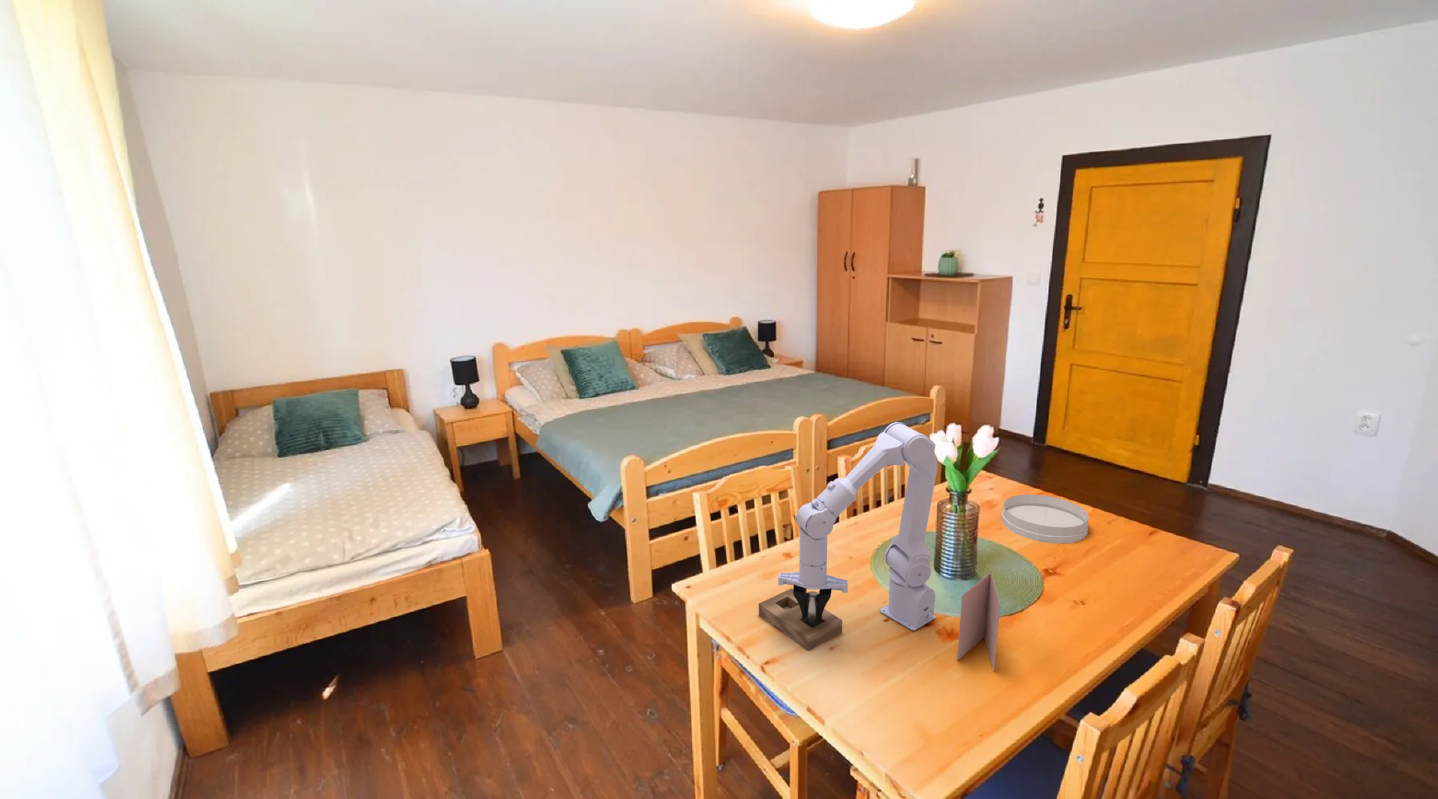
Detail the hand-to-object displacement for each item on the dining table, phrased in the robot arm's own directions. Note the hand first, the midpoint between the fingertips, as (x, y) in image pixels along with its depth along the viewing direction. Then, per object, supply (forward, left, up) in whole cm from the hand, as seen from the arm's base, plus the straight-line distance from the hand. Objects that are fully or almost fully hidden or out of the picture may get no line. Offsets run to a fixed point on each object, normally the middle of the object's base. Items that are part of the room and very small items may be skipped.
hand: (812, 616), depth 138 cm
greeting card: (-27, -22, -4) cm, 35 cm away
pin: (0, 0, -2) cm, 2 cm away
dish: (-5, -87, -4) cm, 87 cm away
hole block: (+4, 0, -4) cm, 6 cm away
